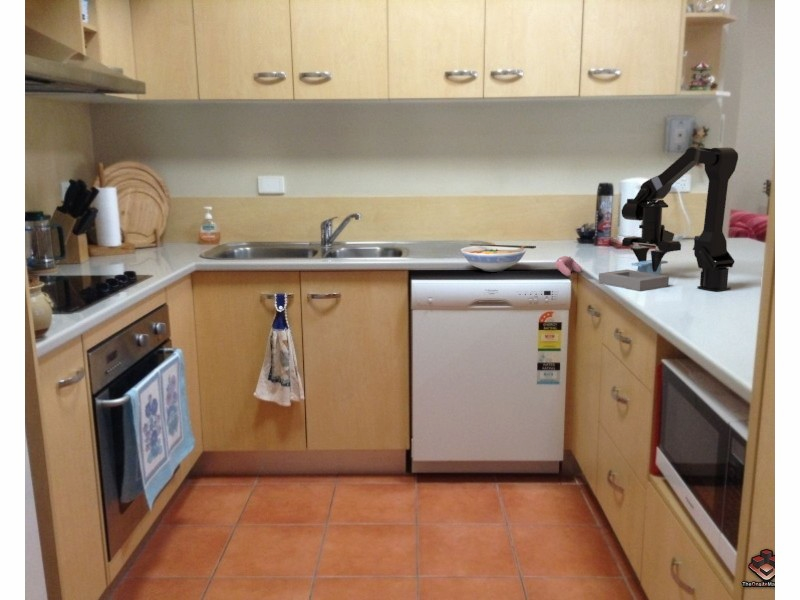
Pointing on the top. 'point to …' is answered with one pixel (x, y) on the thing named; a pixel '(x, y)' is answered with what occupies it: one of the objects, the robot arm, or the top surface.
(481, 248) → the ramen bowl
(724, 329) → the top surface
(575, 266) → the video game controller
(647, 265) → the light blue bar
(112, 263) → the top surface
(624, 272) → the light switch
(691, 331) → the top surface
